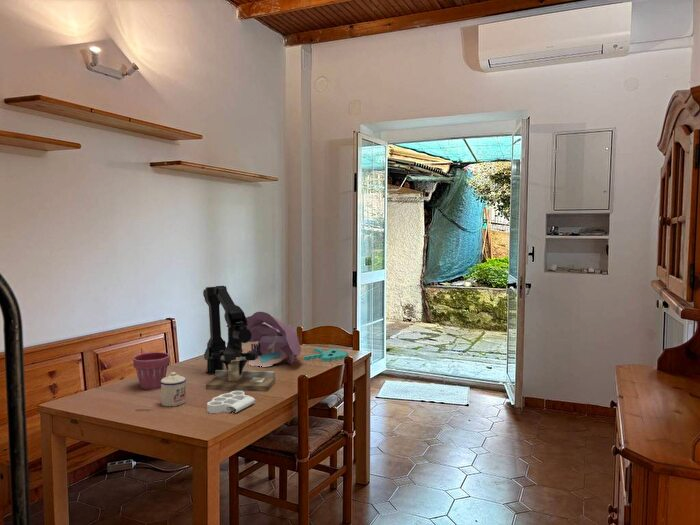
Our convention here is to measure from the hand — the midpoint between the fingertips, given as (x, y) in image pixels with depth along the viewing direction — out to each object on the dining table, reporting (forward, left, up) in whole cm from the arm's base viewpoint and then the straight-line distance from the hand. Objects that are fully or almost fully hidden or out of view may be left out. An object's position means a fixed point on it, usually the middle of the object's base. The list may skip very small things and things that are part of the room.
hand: (235, 375), depth 210 cm
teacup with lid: (-16, -24, -4) cm, 29 cm away
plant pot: (-34, -6, -4) cm, 35 cm away
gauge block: (0, 0, -2) cm, 2 cm away
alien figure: (+34, +51, -5) cm, 62 cm away
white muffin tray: (+6, -26, -5) cm, 28 cm away
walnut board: (+3, -2, -4) cm, 5 cm away
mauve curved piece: (+6, +36, -4) cm, 37 cm away
